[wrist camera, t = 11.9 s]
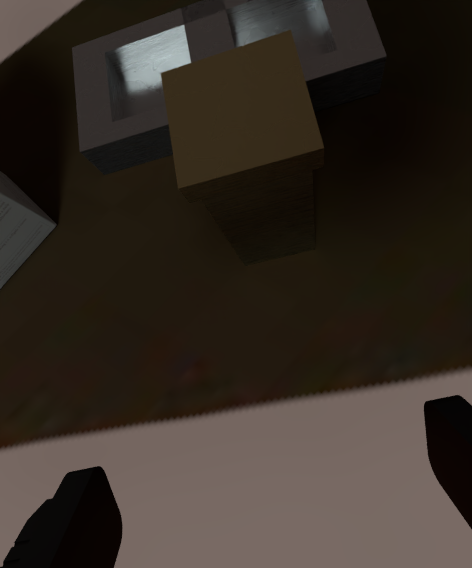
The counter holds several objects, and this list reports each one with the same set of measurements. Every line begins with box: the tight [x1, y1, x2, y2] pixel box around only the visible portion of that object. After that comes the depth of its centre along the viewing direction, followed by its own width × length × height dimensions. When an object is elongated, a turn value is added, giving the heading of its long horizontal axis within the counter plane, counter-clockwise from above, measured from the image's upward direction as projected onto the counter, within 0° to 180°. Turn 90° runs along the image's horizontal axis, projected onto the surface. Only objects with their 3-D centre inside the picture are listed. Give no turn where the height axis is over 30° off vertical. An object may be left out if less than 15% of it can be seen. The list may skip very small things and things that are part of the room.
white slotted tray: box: [72, 0, 387, 175], centre depth 26 cm, size 20×9×3 cm, turn 101°
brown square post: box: [161, 30, 324, 266], centre depth 19 cm, size 5×5×11 cm
